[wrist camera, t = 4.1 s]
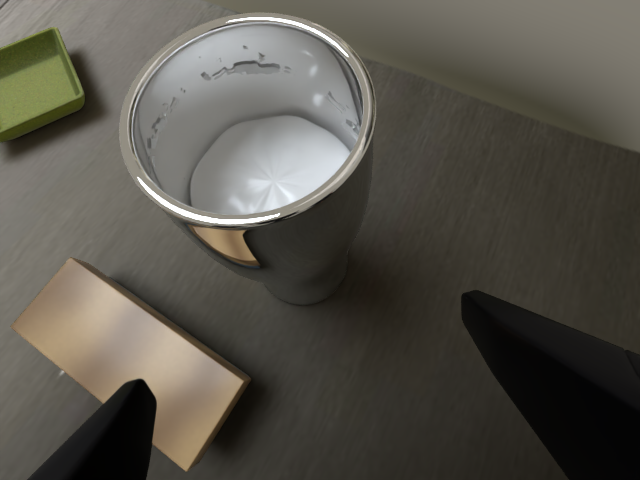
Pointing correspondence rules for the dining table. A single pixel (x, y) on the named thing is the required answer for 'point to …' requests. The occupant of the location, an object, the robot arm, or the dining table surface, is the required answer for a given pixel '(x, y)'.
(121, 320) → the scrub brush
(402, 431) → the dining table surface
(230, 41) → the beer glass
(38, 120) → the green tray
